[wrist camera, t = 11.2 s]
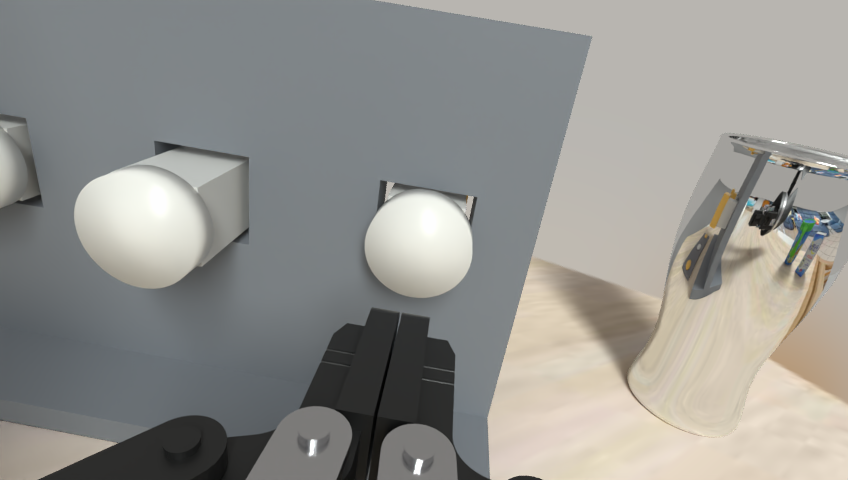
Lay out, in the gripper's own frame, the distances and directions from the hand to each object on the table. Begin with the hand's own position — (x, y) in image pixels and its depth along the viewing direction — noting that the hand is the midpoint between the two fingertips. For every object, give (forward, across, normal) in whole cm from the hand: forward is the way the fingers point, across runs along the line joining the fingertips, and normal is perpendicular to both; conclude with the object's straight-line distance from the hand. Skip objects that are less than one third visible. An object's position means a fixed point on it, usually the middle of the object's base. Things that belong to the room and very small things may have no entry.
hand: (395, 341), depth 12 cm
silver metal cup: (+13, -16, +10) cm, 23 cm away
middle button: (+8, +9, +2) cm, 12 cm away
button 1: (+11, 0, +2) cm, 11 cm away
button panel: (+8, +9, +10) cm, 16 cm away
